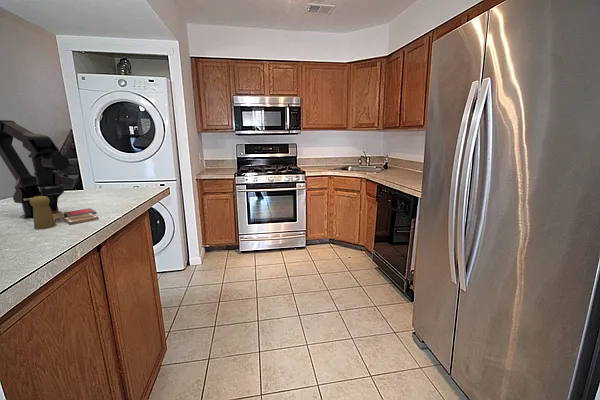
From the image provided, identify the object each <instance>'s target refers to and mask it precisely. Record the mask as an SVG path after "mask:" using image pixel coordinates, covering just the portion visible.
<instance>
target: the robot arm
mask: <svg viewBox="0 0 600 400" xmlns="http://www.w3.org/2000/svg"><path fill="white" fill-rule="evenodd" d="M14 139H15V140H17V141H19V142H21V143H22V146H23V148H24V149H26V150H27V151H28V152H29V155H27V157H28V158H30V159H31V162H32V167H33V171H34V172H33V174H34V175H32V174H31V172H30V171H29V170H28V168H27V167H26V165H25V163H24V162H23V160H22V159H21V156H20V155H19V154H18V152H17V151H16V149H15V148H14V146H13V141H14ZM0 158H1V159H2V160H3V162H4V164H5V166H6V167H7V169H8V170H9V172H10V173H11V175H12V176H13V178H14V179H15V184H14V189H15V191H14V194H13V196H12V200H13V201H14V203H15V204H21V206H22V210H23V214H22V217H23V218H24V219H30V218H34V215H33V206H31V204H30V199H31V198H33V197H37V196H46V197H48V198H49V199H50V203H49V207H50V208H51V209H52V211H57V206H58V202H59V201H58V200H59V197H60V196H61V195H63V193H64V194H65V190H64V187H63V186H61V185H66V186H69V187H74V186H75V185H74V184H75V181H76V179H75V178H74V177H70V176H69V174H66V173H62V174H61V175H58V172H57V171H65V170H67V169H68V168H69V166H70V160H69V159H68V158H67V156H65V155H63V153H62V151H60V148H58V146H57V145H56V144H55V143H54V141H53V140H52V138H51V137H49V135H45V134H42V133H35V132H32V131H31V130H29V129H27V128H25V127H23V126H21V125H20V124H18V123H16V122H15V121H14V120H10V119H0Z"/></svg>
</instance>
